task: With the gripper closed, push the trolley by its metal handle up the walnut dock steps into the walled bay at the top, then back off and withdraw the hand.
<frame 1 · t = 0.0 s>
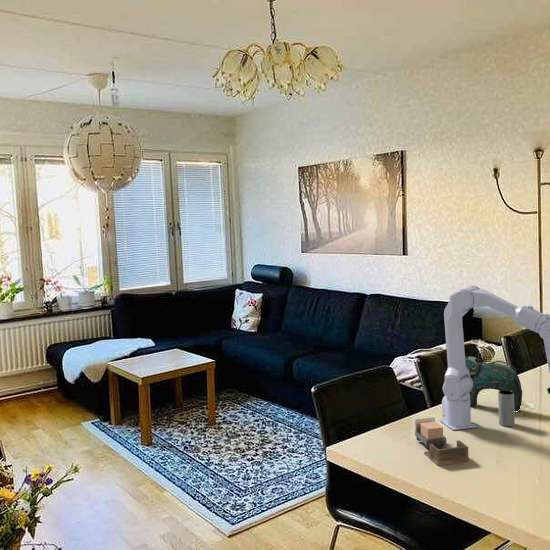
dock: (443, 455, 162), on the table
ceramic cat: (491, 408, 199), on the table
grey cylinder: (506, 425, 183), on the table
trolley: (430, 433, 170), point 3 cm above the table, slide at 0.0 cm
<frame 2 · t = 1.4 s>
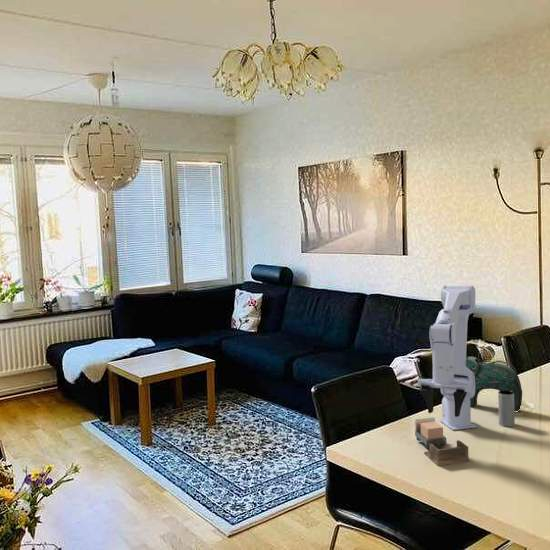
hand: (443, 414, 165), 10 cm above the table, tool pointing down, fingers open, 7 cm apart
nothing on the table moved.
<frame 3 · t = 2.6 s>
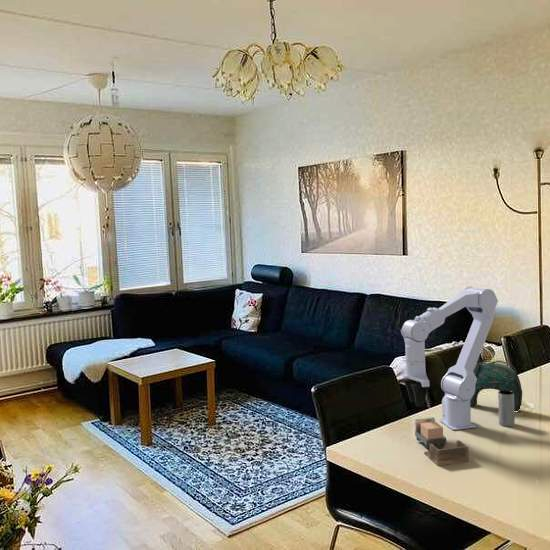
hand: (416, 403, 178), 9 cm above the table, tool pointing down, fingers open, 4 cm apart
nothing on the table moved.
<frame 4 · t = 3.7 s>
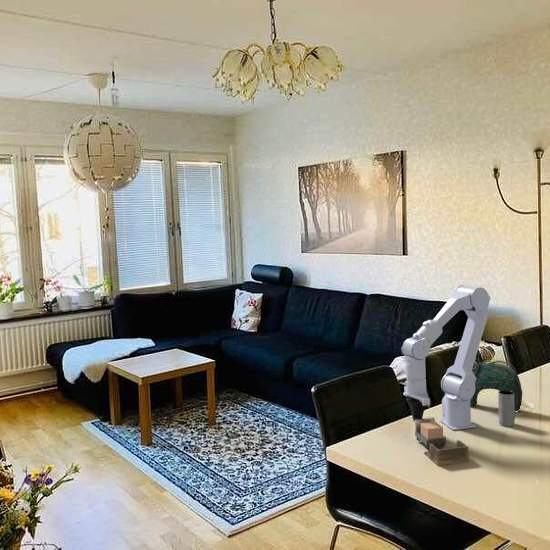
hand: (417, 421, 179), 4 cm above the table, tool pointing down, fingers closed
nothing on the table moved.
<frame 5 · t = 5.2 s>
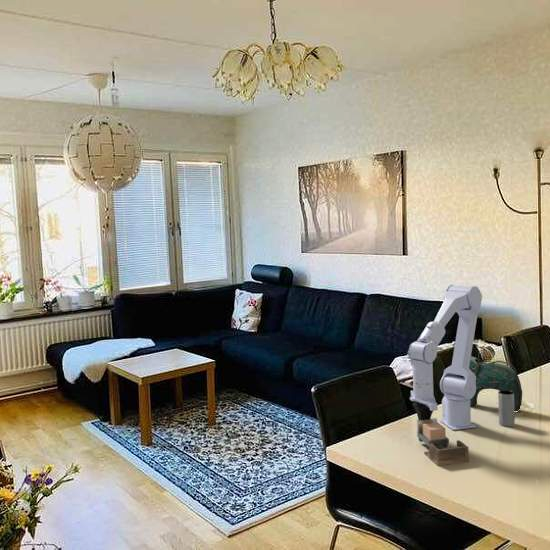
hand: (424, 427, 174), 4 cm above the table, tool pointing down, fingers closed
trolley: (432, 434, 168), point 4 cm above the table, slide at 1.6 cm, touching gripper
everything else where it was.
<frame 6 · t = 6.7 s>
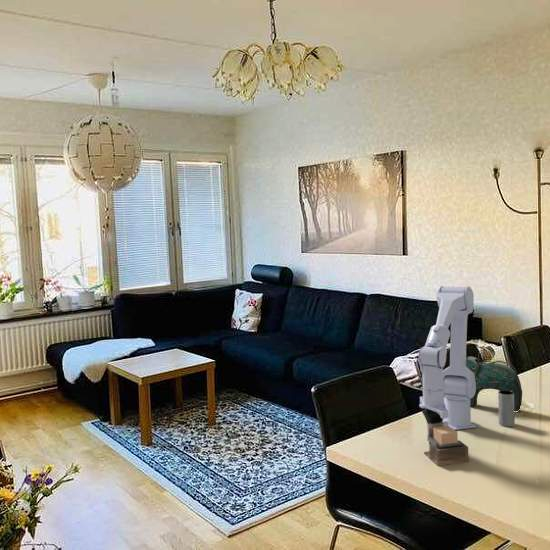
hand: (434, 435, 167), 4 cm above the table, tool pointing down, fingers closed
trolley: (443, 438, 161), point 5 cm above the table, slide at 8.9 cm, touching gripper
everything else where it was.
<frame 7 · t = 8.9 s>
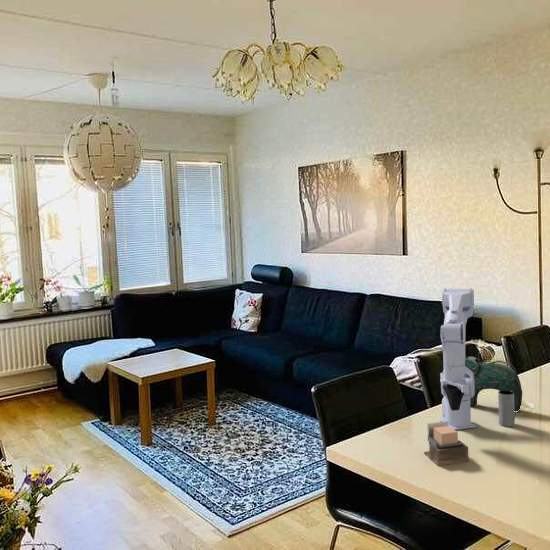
hand: (454, 409, 171), 9 cm above the table, tool pointing down, fingers closed
trolley: (443, 438, 161), point 5 cm above the table, slide at 9.0 cm
everything else where it was.
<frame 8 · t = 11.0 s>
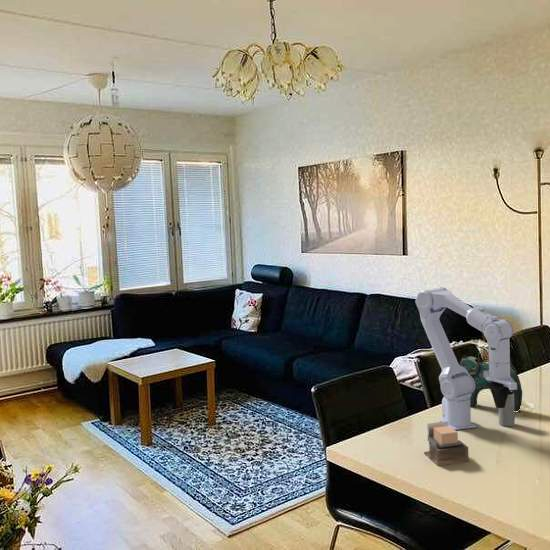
hand: (500, 407, 171), 9 cm above the table, tool pointing down, fingers closed
nothing on the table moved.
at the end: trolley slide at 9.0 cm; trolley 1.3 cm off-centre on the dock, point 5.2 cm above the dock's base; the gripper is holding nothing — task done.
